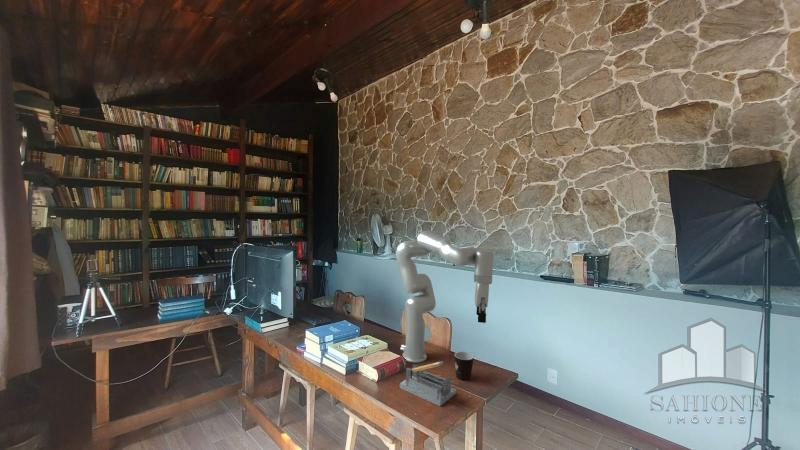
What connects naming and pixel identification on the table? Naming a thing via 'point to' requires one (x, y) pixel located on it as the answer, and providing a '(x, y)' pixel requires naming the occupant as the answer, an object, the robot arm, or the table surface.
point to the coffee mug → (463, 365)
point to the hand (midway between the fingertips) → (480, 318)
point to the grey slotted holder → (428, 386)
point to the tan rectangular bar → (427, 366)
